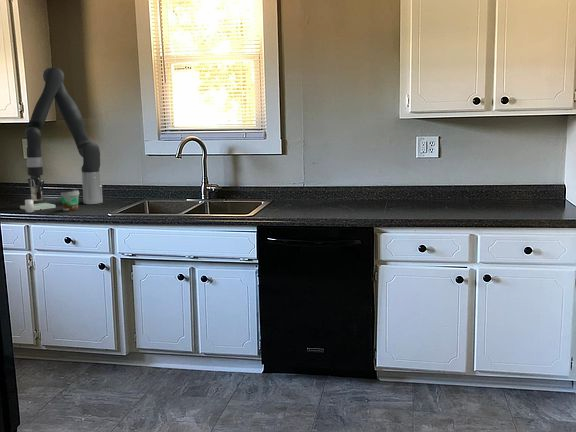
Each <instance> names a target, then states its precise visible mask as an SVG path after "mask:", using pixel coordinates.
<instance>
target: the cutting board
mask: <svg viewBox="0 0 576 432" xmlns="http://www.w3.org/2000/svg"><path fill="white" fill-rule="evenodd" d="M19 208H20V210H24V211H26V210H25V204H24V205H19ZM56 208H57V207H56V204H54V203H53V204H52V203H48V202H41V203H34V211H38V210H39V211H40V209H41V210H47V209H48V210H49V209H56Z"/></svg>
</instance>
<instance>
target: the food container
mask: <svg viewBox="0 0 576 432" xmlns="http://www.w3.org/2000/svg"><path fill="white" fill-rule="evenodd" d="M79 195H80V191H79V190H78V189H72V190H71V191H66V192H60V197H61V204H62V211H63V213H69V212H70V211H72V212H77V211H79Z"/></svg>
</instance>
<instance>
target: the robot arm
mask: <svg viewBox="0 0 576 432" xmlns="http://www.w3.org/2000/svg"><path fill="white" fill-rule="evenodd" d="M42 79H43V81H44V82H45V84H44V88H43V90H42V93H41V94H40V96H39V99H38V100H37V101H36V104H35V106H34V107H33V108H34V109H33V111H32V113H31V116H30V120H29V121H28V123H27V126H26V127H25V130H24V136H25V138H26V144H27V146H26V169H27V175H28V176H30V178H27V181H28V182H27V183H28V187H29V190H30V191H31V187H35V188H36V195H37V199H41V192H42V193H43V191H44V187H45V186H44V185H45V184H44V183H45V180H44V179H42V178H41V176H43V175H44V170H43V169H44V168H43V167H44V166H43V157H42V149H41V145H42V133H41V130H42V128H43V125H44V124H45V122H46V120H47V117H48V115H49V112H50V109H51V107H52V103H53V101H55V103H56V106H57V108H58V109H59V112H60V114H61V116H62V119H63V121H64V123H65V125H66V126H67V128H68V131H69V132H70V134H71V135H72V138H73V140H74V143H75V145H76V148H77V152H78V154H79V155H80V156H81V157H82V166H81V181H82V184H81V185H82V197H83V198H82V199H83V201H82V202H83V204H84V205H85V204H86V205H95V204H103V203H104V202H103V198H104V197H103V185H101V177H100V176H101V173H100V168H101V150H100V146H98V144H97V143H95V142H92V141H91V139H90V138H89V136H88V134H87V133H86V129H85V124H84V118H83V116H82V112H81V111H80V109H79V106H78V105H77V103H76V102H75V100H74V99H73V98H72V97H71V95H70V94H69V92H68V91H67V89H66V87H65V84H64V80H65V73H64V71H63V70H62V69H61V68H59V67H55V66H54V67H52V66H51V67H47V68H46V69H45V70H44V71H43V74H42Z"/></svg>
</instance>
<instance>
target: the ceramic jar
mask: <svg viewBox="0 0 576 432" xmlns="http://www.w3.org/2000/svg"><path fill="white" fill-rule="evenodd" d="M34 204H35V203H34V201H33V200H32V199H24V205H25V210H24V211H25V213H34V212H35V210H34Z"/></svg>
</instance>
